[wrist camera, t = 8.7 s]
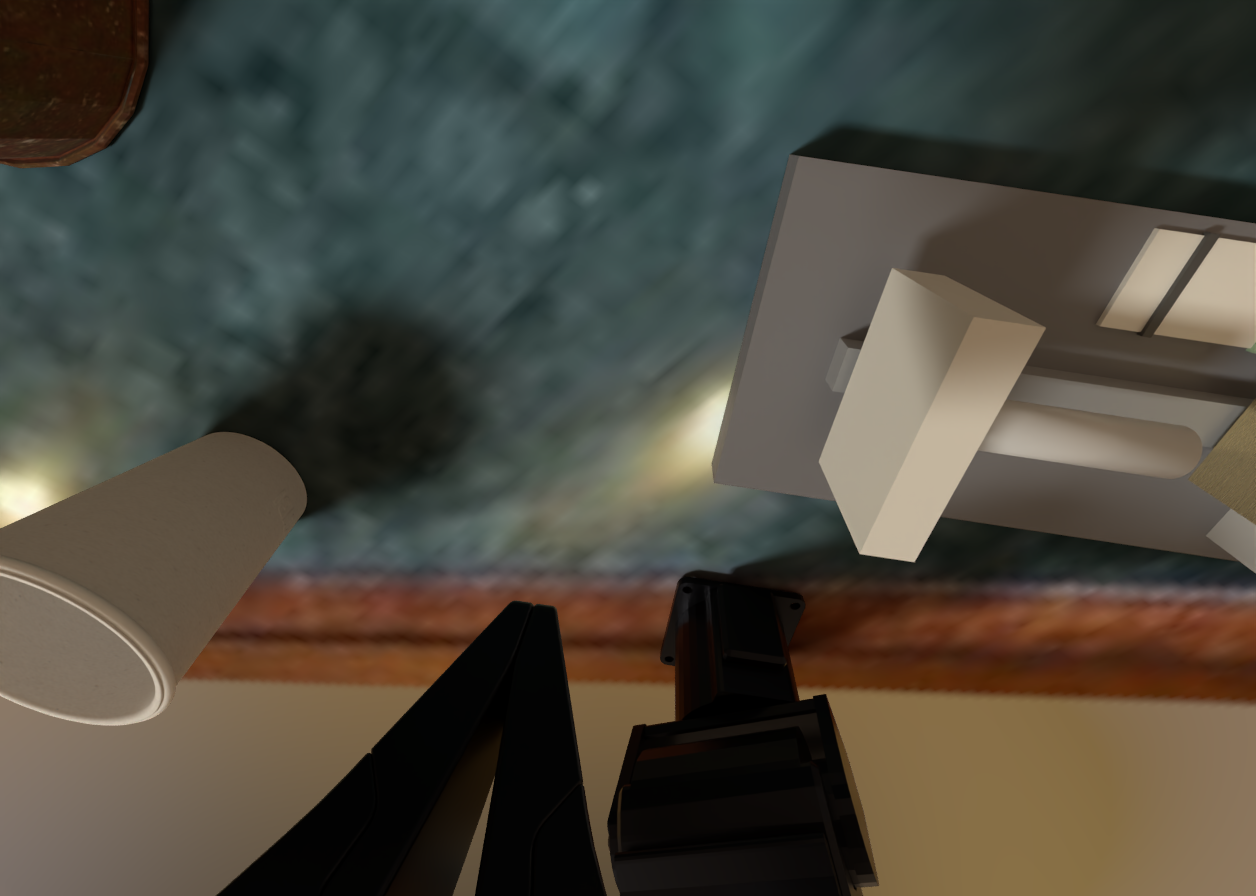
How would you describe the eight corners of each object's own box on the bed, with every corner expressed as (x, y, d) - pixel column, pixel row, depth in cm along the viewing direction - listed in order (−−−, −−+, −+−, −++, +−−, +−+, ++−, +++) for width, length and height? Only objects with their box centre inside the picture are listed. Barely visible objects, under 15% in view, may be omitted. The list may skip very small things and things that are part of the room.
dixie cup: (317, 420, 23) (111, 583, 15) (345, 557, 28) (198, 743, 19) (135, 392, 23) (-177, 538, 15) (191, 533, 28) (-25, 709, 19)
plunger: (1053, 496, 19) (1161, 599, 15) (818, 461, 19) (859, 553, 15) (1182, 310, 16) (1372, 376, 11) (892, 267, 16) (973, 317, 11)
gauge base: (1249, 544, 23) (1517, 733, 16) (711, 463, 23) (728, 614, 16) (1528, 264, 17) (2188, 361, 9) (789, 154, 17) (877, 167, 9)
